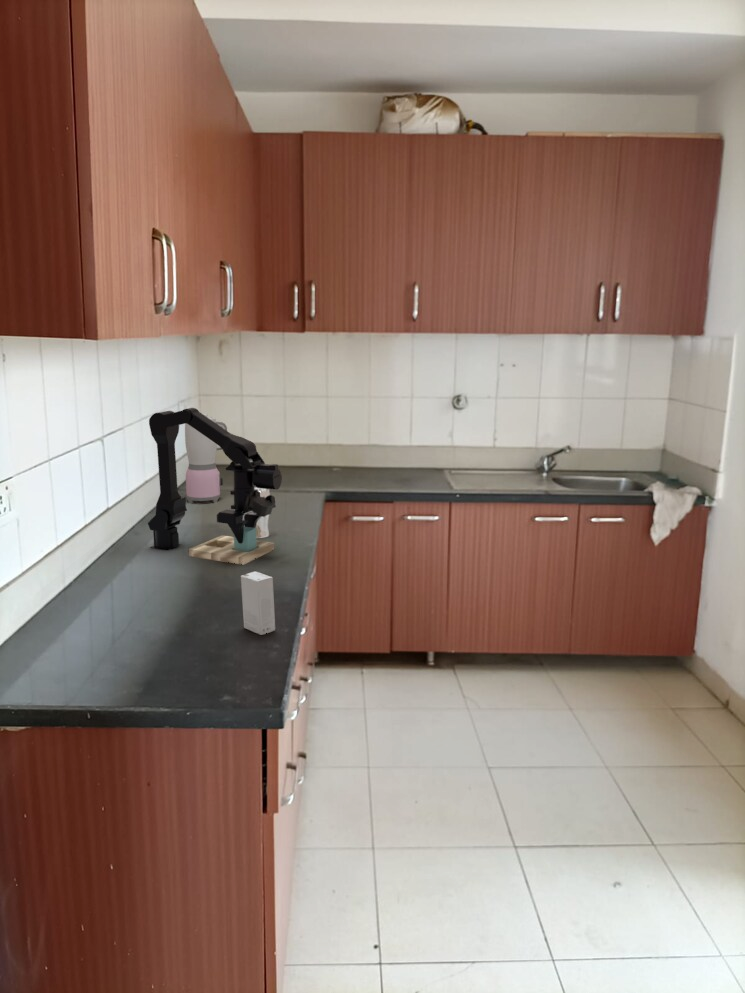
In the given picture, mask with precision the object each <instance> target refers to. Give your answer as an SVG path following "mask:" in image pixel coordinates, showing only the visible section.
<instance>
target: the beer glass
mask: <svg viewBox="0 0 745 993" xmlns="http://www.w3.org/2000/svg"><path fill="white" fill-rule="evenodd" d="M254 489H256V490H258V492H259V496H260V497H265V498H266V497H267V496H269V495H271V494H270V489H264V488H257V487H256V486H254ZM269 517H270V515H266V516H265V517H261V518H260V519H258V521H257V524H256V527H255V528H256V534H257V539H262V538H263V539H265V538H268V537H269V536H270V532H269V519H270V518H269Z"/></svg>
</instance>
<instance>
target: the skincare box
mask: <svg viewBox="0 0 745 993" xmlns="http://www.w3.org/2000/svg"><path fill="white" fill-rule="evenodd" d="M273 578H274V577H272V576H271V575H270V576H269V575H267V574H264V573H261V572H259V571H255V570H254V571H251V572H248V573H245V574H242V575H240V584H241V601H242V615H243V616H242V617H243V627H244V629H247V630H248V631H250V632H253V633H256V634H257V635H260V636H262V635H266V633H267V634H270V633H272V632H275V631H276V617H275V616H276V615H275V602H274V601H275V599H274V598H275V597H274V594H275V593H274V579H273Z"/></svg>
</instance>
